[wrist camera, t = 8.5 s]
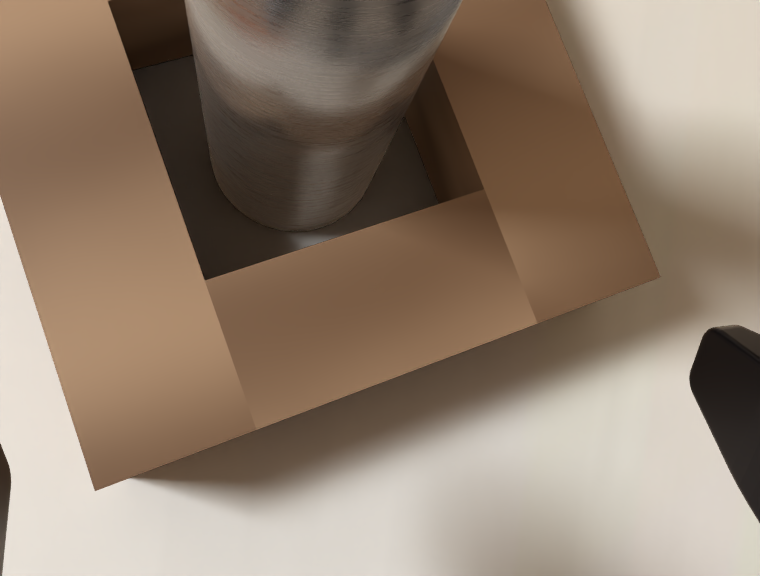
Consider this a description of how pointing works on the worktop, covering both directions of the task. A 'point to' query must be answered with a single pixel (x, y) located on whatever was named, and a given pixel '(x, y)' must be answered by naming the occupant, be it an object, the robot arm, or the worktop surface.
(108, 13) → the wooden square frame
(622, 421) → the worktop surface
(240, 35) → the metal pin
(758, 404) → the robot arm
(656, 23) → the worktop surface
